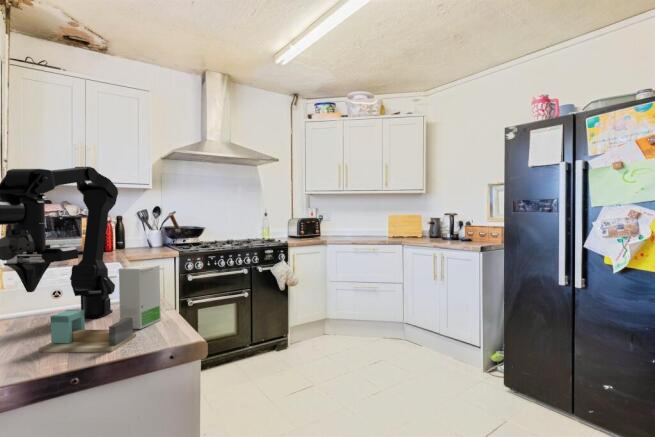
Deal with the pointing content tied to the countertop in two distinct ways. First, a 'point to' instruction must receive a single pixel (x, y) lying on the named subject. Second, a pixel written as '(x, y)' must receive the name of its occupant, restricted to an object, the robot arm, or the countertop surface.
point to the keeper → (66, 325)
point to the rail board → (82, 346)
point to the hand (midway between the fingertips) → (30, 291)
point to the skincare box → (140, 294)
